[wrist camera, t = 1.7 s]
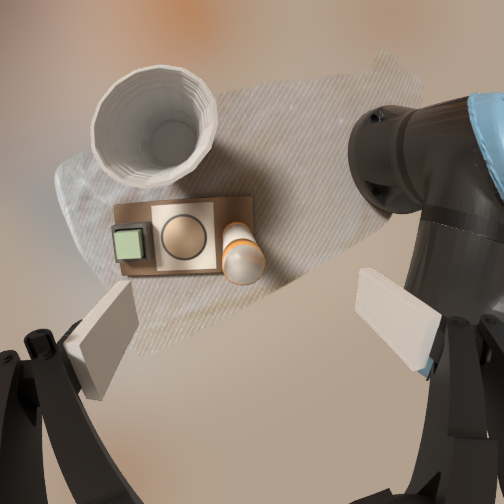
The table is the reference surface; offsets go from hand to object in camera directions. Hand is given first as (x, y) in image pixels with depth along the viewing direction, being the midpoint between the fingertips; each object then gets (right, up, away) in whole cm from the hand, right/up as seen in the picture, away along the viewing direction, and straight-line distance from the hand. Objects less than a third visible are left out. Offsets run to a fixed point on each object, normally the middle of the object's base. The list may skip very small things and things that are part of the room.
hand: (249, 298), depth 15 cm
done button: (-14, +4, +16) cm, 21 cm away
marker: (-2, +5, +18) cm, 18 cm away
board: (-8, +4, +18) cm, 20 cm away
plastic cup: (-9, +16, +15) cm, 24 cm away
